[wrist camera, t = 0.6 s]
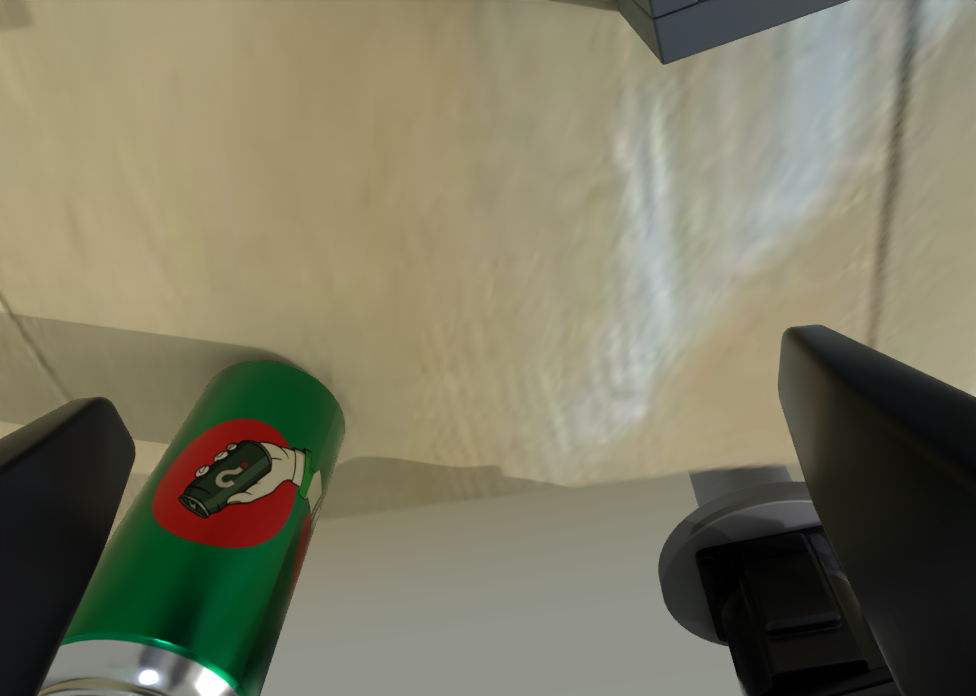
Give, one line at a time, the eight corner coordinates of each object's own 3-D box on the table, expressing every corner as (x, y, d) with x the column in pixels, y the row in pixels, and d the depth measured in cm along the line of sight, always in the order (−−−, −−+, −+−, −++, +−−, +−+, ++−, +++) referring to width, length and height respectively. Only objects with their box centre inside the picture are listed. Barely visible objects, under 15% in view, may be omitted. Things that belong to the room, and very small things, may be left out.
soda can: (182, 369, 24) (-53, 700, 14) (312, 335, 24) (156, 665, 13) (250, 472, 27) (91, 812, 17) (370, 445, 26) (276, 791, 16)
